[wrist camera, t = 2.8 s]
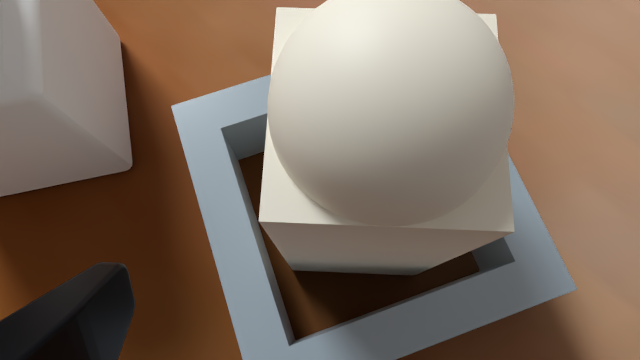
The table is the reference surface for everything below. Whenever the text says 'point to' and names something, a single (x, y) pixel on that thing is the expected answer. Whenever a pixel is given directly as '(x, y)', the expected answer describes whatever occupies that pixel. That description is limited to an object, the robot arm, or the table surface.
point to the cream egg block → (386, 136)
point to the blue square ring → (369, 329)
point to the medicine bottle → (60, 95)
